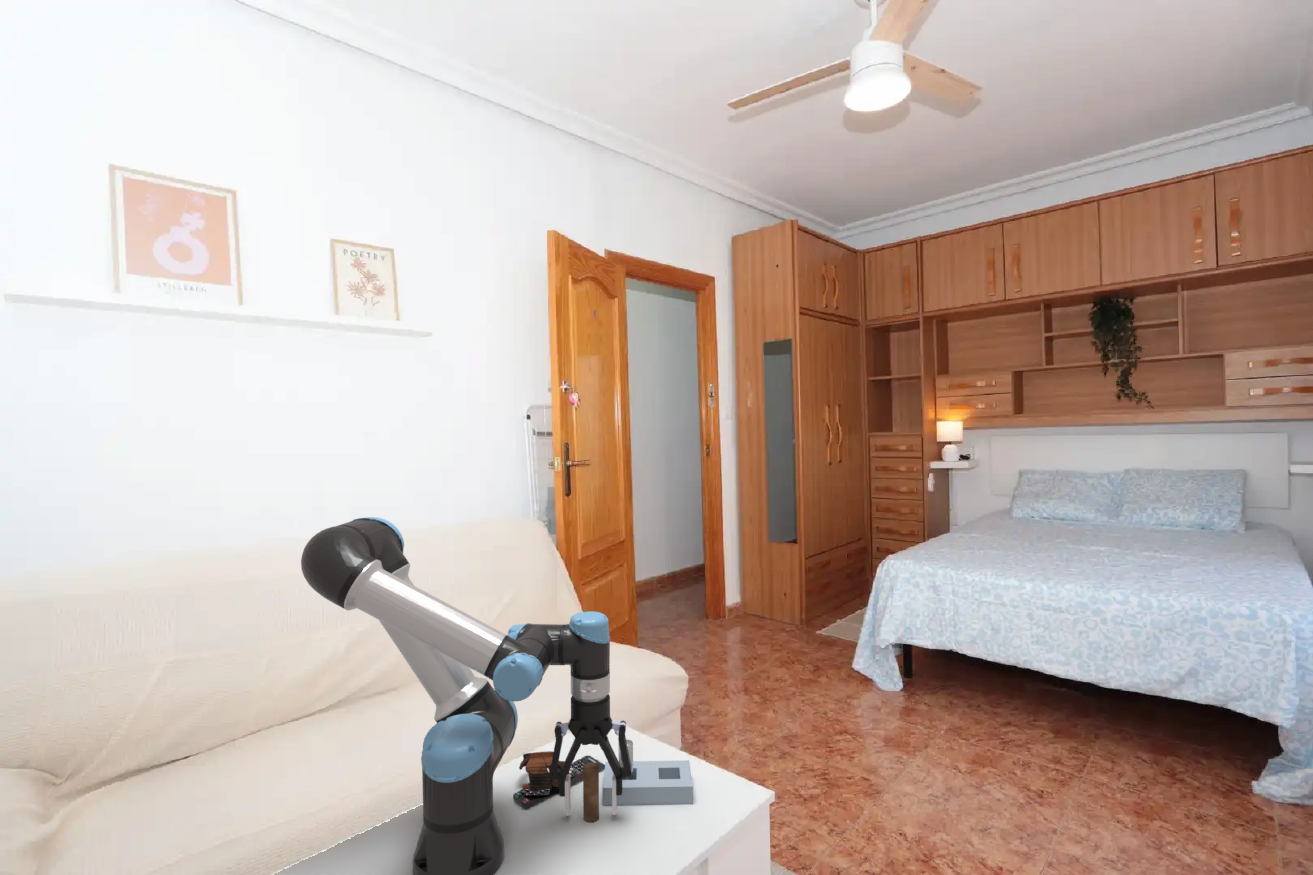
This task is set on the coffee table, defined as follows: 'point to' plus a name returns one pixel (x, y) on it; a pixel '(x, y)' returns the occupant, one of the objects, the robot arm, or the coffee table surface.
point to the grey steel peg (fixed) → (630, 749)
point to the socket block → (652, 784)
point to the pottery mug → (539, 770)
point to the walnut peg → (591, 792)
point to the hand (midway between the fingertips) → (591, 810)
